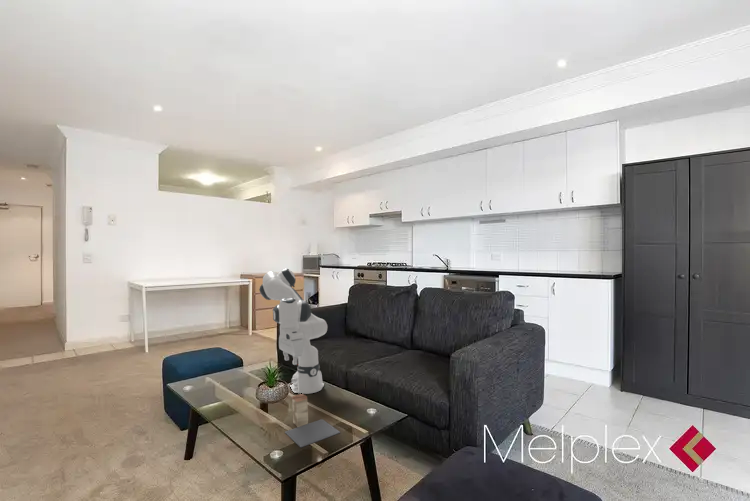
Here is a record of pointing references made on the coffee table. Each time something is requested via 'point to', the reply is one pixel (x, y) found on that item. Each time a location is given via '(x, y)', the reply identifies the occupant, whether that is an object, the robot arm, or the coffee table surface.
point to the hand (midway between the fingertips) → (290, 362)
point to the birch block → (300, 410)
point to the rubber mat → (311, 433)
